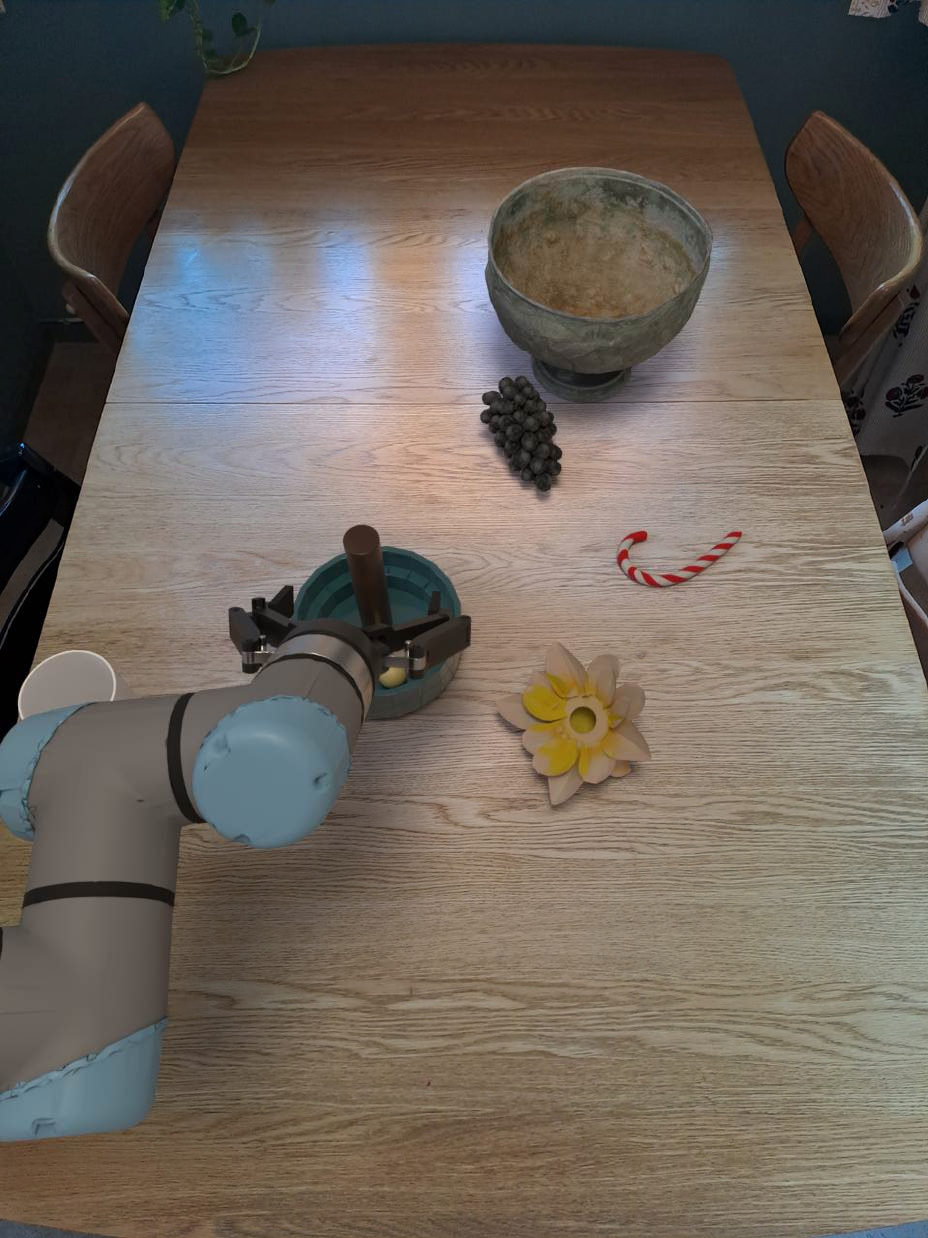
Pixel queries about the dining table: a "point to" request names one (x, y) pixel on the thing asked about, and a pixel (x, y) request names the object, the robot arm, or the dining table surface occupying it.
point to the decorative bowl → (594, 274)
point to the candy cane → (676, 576)
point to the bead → (393, 677)
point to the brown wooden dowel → (368, 575)
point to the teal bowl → (408, 600)
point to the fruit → (512, 419)
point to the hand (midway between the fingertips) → (363, 602)
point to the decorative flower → (578, 721)
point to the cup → (71, 683)
